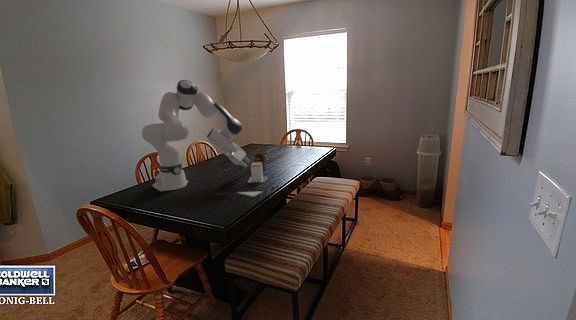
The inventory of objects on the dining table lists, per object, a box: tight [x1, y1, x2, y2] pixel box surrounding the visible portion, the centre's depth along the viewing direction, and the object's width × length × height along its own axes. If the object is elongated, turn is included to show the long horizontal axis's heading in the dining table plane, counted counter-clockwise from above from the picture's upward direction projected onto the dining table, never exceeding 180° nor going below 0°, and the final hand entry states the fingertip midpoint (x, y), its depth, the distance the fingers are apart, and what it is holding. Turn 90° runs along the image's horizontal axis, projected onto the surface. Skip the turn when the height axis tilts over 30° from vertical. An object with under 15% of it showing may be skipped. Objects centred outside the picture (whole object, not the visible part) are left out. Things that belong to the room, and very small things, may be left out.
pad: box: [236, 190, 267, 198], centre depth 156 cm, size 12×12×1 cm
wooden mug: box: [253, 146, 268, 171], centre depth 193 cm, size 9×14×18 cm, turn 39°
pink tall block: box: [250, 162, 264, 181], centre depth 172 cm, size 6×6×10 cm
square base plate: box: [246, 175, 268, 184], centre depth 173 cm, size 11×11×6 cm
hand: (248, 164), depth 172 cm, fingers open, 8 cm apart
